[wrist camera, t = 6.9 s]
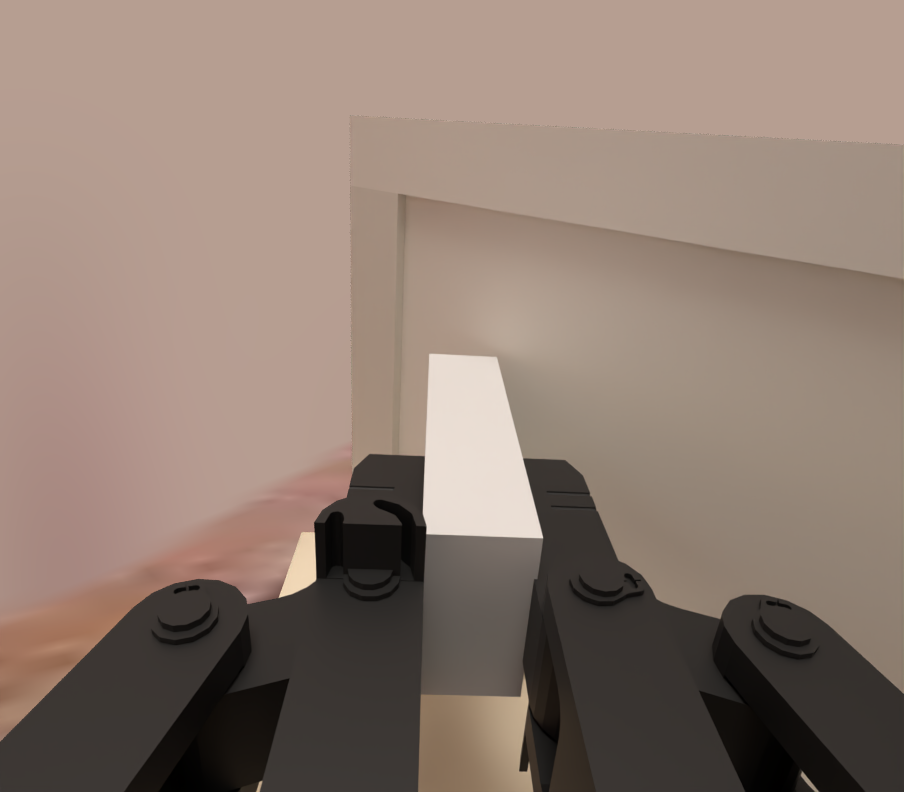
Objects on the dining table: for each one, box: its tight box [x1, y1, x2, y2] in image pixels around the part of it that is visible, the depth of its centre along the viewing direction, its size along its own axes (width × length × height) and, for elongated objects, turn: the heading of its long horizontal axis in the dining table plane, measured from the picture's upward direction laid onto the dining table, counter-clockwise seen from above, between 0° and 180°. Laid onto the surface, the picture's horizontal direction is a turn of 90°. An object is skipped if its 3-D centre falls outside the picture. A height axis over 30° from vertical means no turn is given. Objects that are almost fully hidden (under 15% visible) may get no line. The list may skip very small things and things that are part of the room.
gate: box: [350, 116, 904, 792], centre depth 12 cm, size 17×2×12 cm, turn 46°
